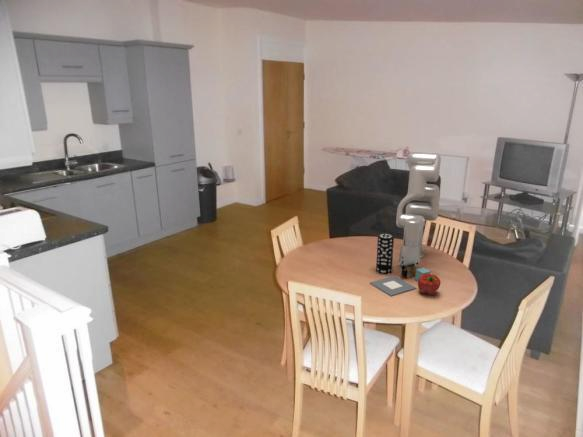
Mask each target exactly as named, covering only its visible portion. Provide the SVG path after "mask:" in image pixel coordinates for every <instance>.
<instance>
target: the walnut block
mask: <svg viewBox="0 0 583 437" xmlns="http://www.w3.org/2000/svg"><path fill="white" fill-rule="evenodd" d="M404 267H405V265H404ZM416 269H417V268H416V266H415V265H413V264H410V265H408V267H407V278H406V279H408V280H410V279H412V278H413V279H414V278H415V277H416ZM401 276H402V273H401Z"/></svg>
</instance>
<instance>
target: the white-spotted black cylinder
mask: <svg viewBox="0 0 583 437" xmlns="http://www.w3.org/2000/svg"><path fill="white" fill-rule="evenodd" d="M394 242H395V236H394V235H393V234H391V233H379V234H378V235H377V244H376V245H377V246H376V263H375V264H376V265H375V271H376V273H378V274H380V275H391V274H392V273H393V262H394V261H393V260H394V257H393V256H394V244H395V243H394Z"/></svg>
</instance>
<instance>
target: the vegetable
mask: <svg viewBox="0 0 583 437" xmlns="http://www.w3.org/2000/svg"><path fill="white" fill-rule="evenodd" d="M441 283H442V282H441V279H440V278H439V277H438V276H437V275H436V274H432V273H431V274H428V273H424V274H422V276H421V277H419V280H418V281H417V287H418V290H419V291H420V293H421V294H423V295H424V294H426V295H429V296H432V295H433V296H434V295H435V294H436V293H437V291H438V290H439V289H440V286H441Z"/></svg>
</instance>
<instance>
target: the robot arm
mask: <svg viewBox="0 0 583 437" xmlns="http://www.w3.org/2000/svg"><path fill="white" fill-rule="evenodd" d="M441 160H442V158H441V156H440V154H439V153H432V152H431V153H430V152H410V153H408V154H407V157H406V163H407V167H408V169H409V174H408V184H407V185H408V188H407V193H406V195H405V196H404V197H403V198H402V199H401V200H400V202H399V203H398V206H397V210H396V219H395V220H396V221H395V223H396V227H397V228H401V229H403V242H402V245H401V247H400V251H399V257H398V263H397V266H398V267H399V268H400V269H401V274H402V275H401V276H402V277H404V278H406V279H407V267H408V265H410V264H413V265H415V266H416V269H418V267H417V266H418V265H419V263H420V262H421V261H422V260H421V259H422V258H424V257H425V254H424V253H423V252H424V251H427V250H428V247H427V246H424V247H423V237H424V235H423V234H424V227H425V224H426V222H427V221H429V222H434V221H436V220H437V219H438V215H439V207H440V194H441V193H440V187H439V186H438V185H437V184H431V183H427V182H432V183H436V182H437V181H438V179H439V176H440V171H441V163H442V162H441ZM412 201H421V202H412ZM424 202H426V203H424ZM427 202H429V203H427ZM405 206H406V207H405ZM404 207H405V213H403V210H404ZM404 265H405V267H404Z"/></svg>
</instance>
